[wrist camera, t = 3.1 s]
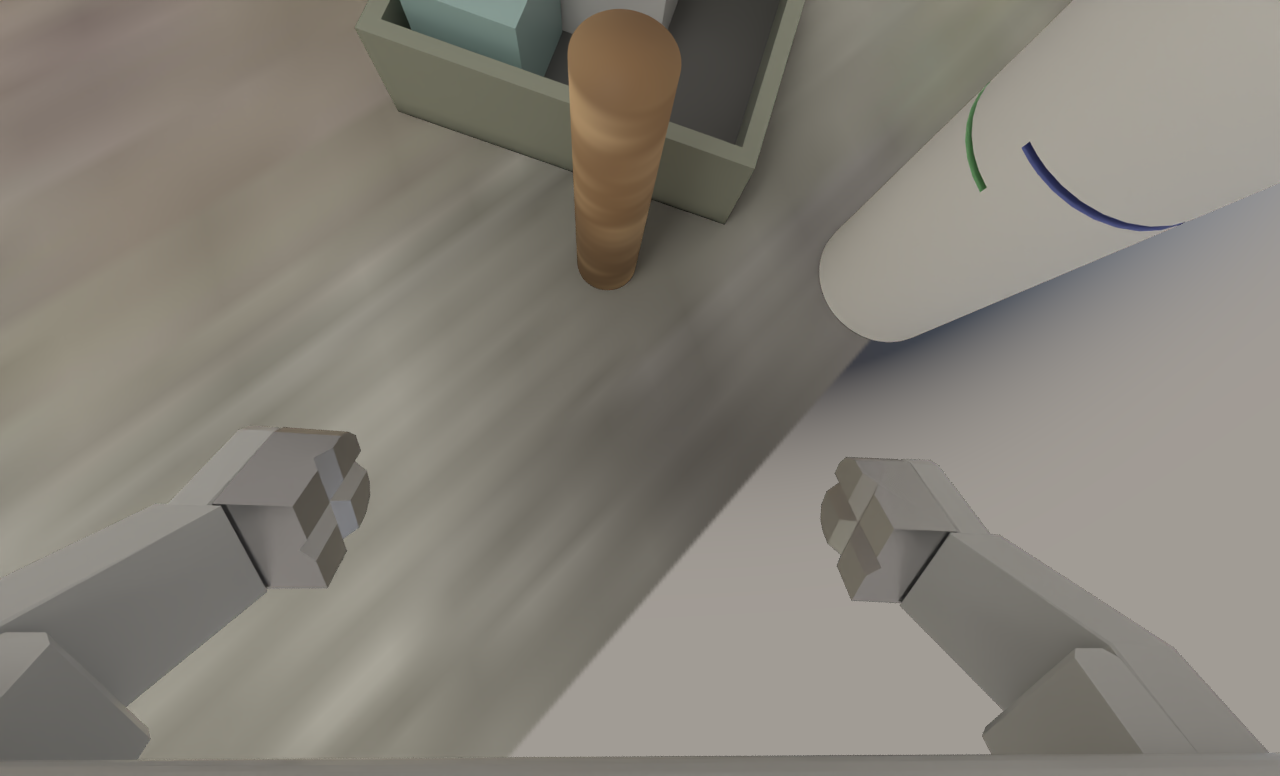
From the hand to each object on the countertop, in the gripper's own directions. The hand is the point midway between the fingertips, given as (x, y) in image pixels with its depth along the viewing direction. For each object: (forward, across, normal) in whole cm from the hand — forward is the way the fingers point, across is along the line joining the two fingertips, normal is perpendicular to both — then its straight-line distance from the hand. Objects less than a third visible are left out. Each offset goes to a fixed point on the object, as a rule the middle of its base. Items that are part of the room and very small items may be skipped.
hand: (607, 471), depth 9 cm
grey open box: (+27, +1, -5) cm, 28 cm away
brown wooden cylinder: (+19, 0, +4) cm, 19 cm away
